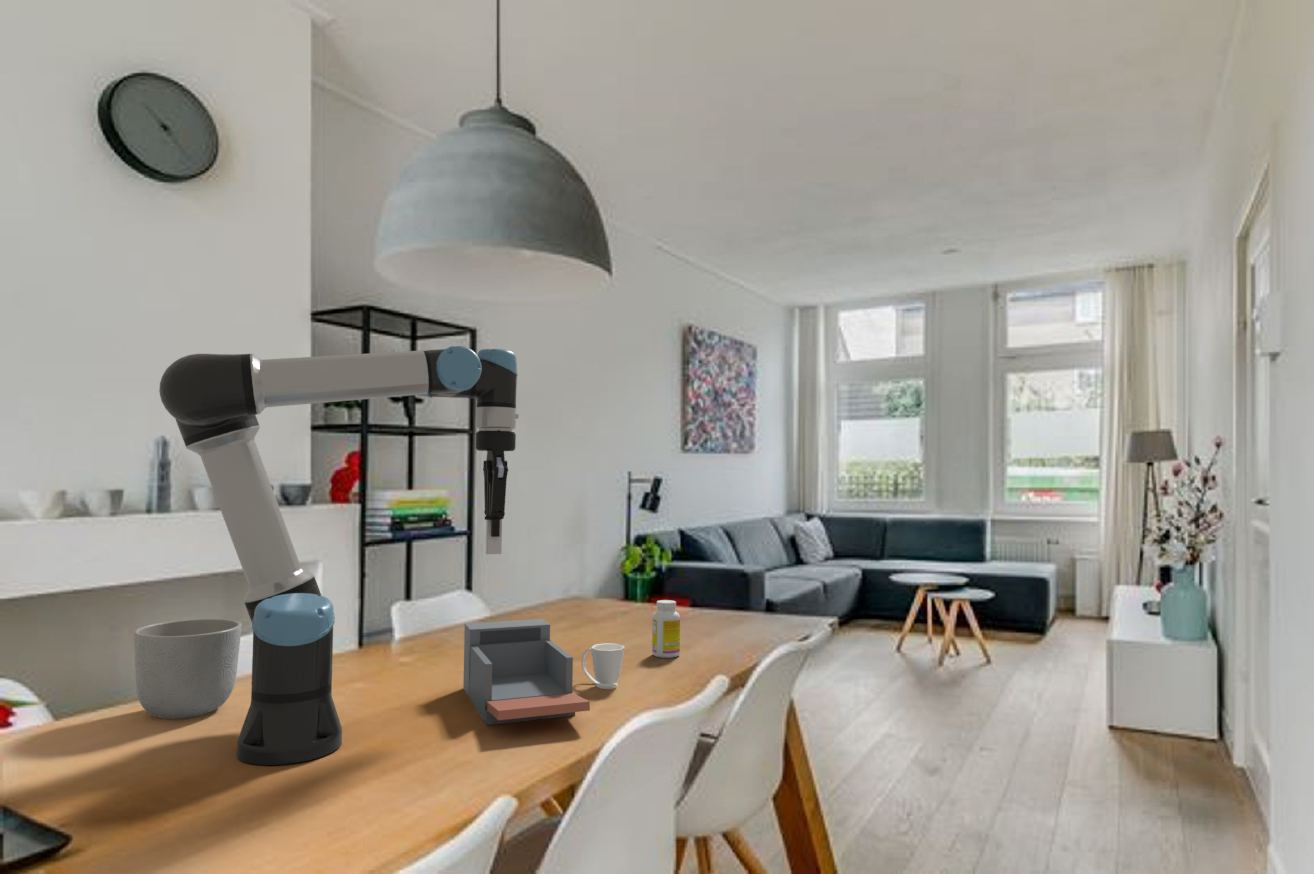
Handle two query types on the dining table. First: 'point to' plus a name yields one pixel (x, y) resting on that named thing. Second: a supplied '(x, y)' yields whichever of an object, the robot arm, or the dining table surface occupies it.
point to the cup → (605, 664)
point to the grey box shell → (501, 636)
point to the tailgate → (537, 706)
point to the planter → (186, 666)
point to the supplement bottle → (666, 630)
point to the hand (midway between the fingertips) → (493, 553)
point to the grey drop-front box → (518, 674)
